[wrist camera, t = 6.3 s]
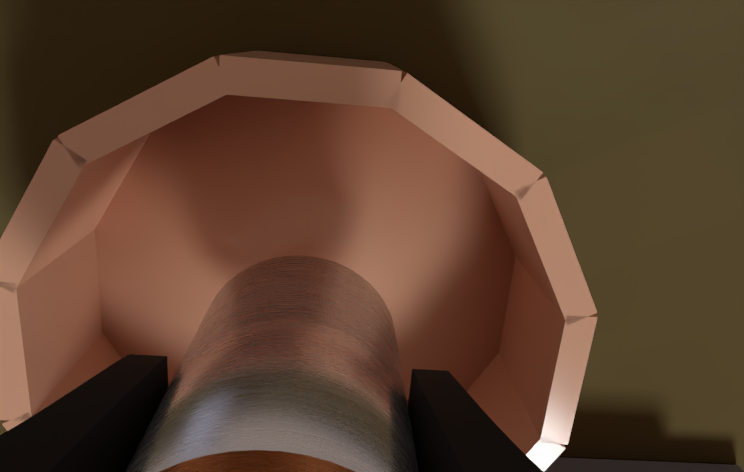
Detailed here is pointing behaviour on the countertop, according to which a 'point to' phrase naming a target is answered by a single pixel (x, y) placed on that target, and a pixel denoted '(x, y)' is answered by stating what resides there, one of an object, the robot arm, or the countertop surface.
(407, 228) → the cup
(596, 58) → the countertop surface
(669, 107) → the countertop surface
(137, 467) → the battery cell
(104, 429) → the robot arm
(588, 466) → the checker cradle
